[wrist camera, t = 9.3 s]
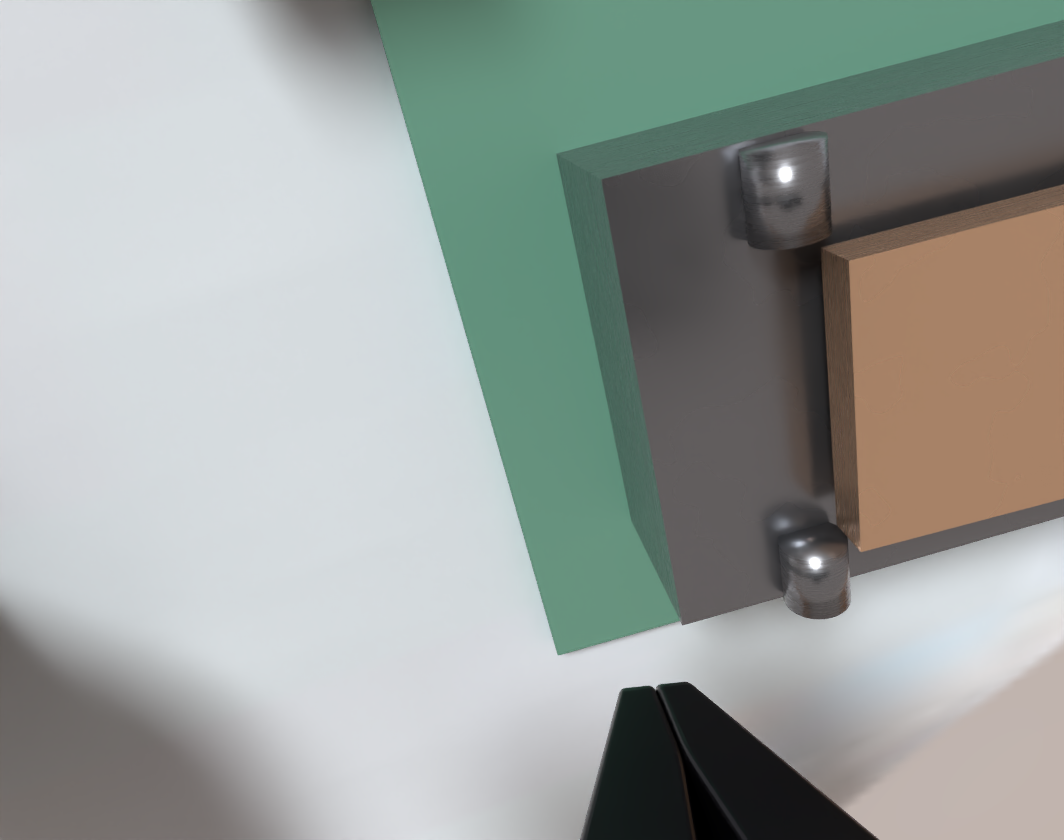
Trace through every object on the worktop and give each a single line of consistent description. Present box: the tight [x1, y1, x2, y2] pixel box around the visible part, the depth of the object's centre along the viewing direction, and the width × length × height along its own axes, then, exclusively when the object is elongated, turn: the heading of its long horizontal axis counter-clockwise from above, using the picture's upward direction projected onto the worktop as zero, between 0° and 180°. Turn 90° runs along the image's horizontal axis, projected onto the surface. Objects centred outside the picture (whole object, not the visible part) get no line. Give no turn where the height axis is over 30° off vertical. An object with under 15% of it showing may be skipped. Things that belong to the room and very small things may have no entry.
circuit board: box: [371, 0, 1064, 655], centre depth 19 cm, size 20×18×1 cm
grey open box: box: [556, 20, 1064, 625], centre depth 16 cm, size 16×10×7 cm, turn 103°
